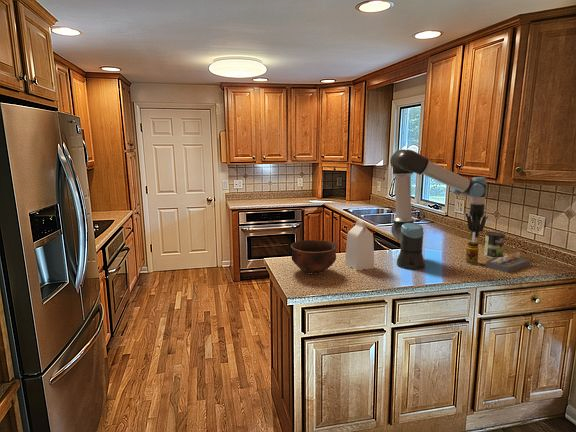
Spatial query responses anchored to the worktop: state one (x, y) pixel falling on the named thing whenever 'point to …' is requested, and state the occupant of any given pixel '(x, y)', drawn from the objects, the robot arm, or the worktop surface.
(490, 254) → the coffee can
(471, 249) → the condiment
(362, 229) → the milk
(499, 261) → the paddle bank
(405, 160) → the robot arm
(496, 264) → the switch panel
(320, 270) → the bowl
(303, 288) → the worktop surface
